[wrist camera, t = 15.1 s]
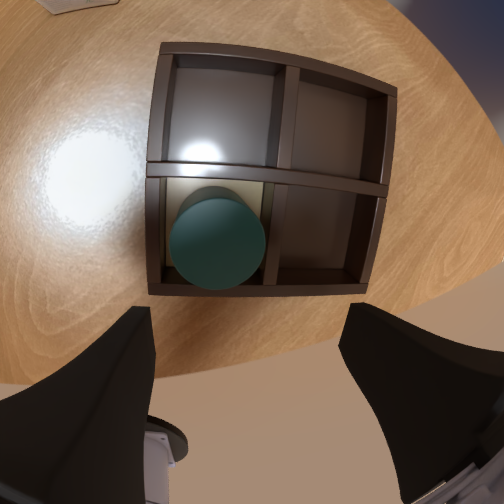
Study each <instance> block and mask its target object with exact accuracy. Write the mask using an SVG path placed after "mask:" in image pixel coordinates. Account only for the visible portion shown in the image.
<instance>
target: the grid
mask: <svg viewBox="0 0 504 504" xmlns="http://www.w3.org/2000/svg"><path fill="white" fill-rule="evenodd" d="M396 116H397V87H395V86H392V85H390V84H388V83H385V82H383V81H380V80H378V79H375V78H372V77H370V76H367V75H364V74H362V73H359V72H356V71H353V70H350V69H347V68H344V67H340V66H337V65H334V64H330V63H327V62H323V61H320V60H316V59H312V58H308V57H304V56H299V55H295V54H290V53H285V52H280V51H275V50H269V49H263V48H256V47H249V46H241V45H231V44H220V43H204V42H162V43H161V45H160V50H159V56H158V61H157V66H156V73H155V79H154V86H153V93H152V101H151V109H150V119H149V129H148V141H147V156H146V161H147V163H146V178H145V249H146V270H147V282H148V294H149V295H160V296H194V297H290V296H324V295H348V294H365V293H366V291H367V287H368V283H369V280H370V276H371V272H372V268H373V264H374V260H375V256H376V251H377V247H378V243H379V238H380V233H381V228H382V223H383V218H384V213H385V207H386V202H387V199H386V198H387V196H388V189H389V184H390V177H391V169H392V161H393V152H394V142H395V131H396ZM208 186H220V187H224V188H227V189H230V190H232V191H233V192H235V193H236V194H238V195H239V196H240V197H241V198H242V200H243V201H244V202H245V203H246V204H247V205H248V206H249V208H250V209H251V210H252V211H253V212H254V213H255V215H256V216H257V217H258V219H259V220H260V222H261V224H262V226H263V229H264V233H265V240H266V245H265V252H264V256H263V259H262V261H261V263H260V265H259V267H258V268H257V270H256V271H255V272H254V273H253V274H252V275H251V276H250V277H249V278H248V279H247V280H245V281H244V282H242V283H241V284H239V285H237V286H234V287H231V288H228V289H222V290H211V289H205V288H201V287H198V286H196V285H194V284H192V283H190V282H189V281H187V280H186V279H185V278H184V277H183V276H182V275H181V274H180V273H179V272H178V271H177V269H176V268H175V266H174V264H173V262H172V259H171V257H170V252H169V237H170V232H171V229H172V227H173V224H174V221H175V219H176V216H177V214H178V211H179V209H180V207H181V205H182V203H183V202H184V200H185V199H186V198H187V197H188V196H189V195H190V194H191V193H193V192H194V191H196V190H198V189H201V188H204V187H208Z"/></svg>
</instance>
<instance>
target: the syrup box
mask: <svg viewBox="0 0 504 504" xmlns="http://www.w3.org/2000/svg"><path fill="white" fill-rule="evenodd" d="M35 1H37V2H38V3H39V4H40V5H42V6H43V7H44V8H45V9H47V10H48V11H49V12H50V13H52V14H59V13H64V12H68V11H73V10H78V9H83V8H89V7H94V6H100V5H108V4H115V3H117V2H118V1H119V0H35Z"/></svg>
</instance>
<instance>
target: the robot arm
mask: <svg viewBox="0 0 504 504" xmlns="http://www.w3.org/2000/svg"><path fill="white" fill-rule="evenodd" d="M338 347H339V349H340V352H341V354H342V357H343V359H344V362H345V364H346V366H347V368H348V370H349V371H350V373H351V375H352V376H353V378H354V379H355V381H356V383H357V385H358V386H359V388H360V389H361V391H362V393H363V394H364V396H365V398H366V399H367V401H368V402H369V404H370V406H371V407H372V409H373V411H374V413H375V415H376V417H377V419H378V421H379V424H380V426H381V428H382V431H383V433H384V436H385V438H386V441H387V444H388V447H389V449H390V452H391V455H392V459H393V462H394V465H395V469H396V473H397V478H398V483H399V489H400V496H401V500H402V502H403V503H404V504H411V503H413V502H415V501H416V500H418V499H420V498H421V497H423V496H424V495H426V494H428V493H429V492H431V491H432V490H434V489H435V488H437V487H438V486H440V485H441V484H443V483H444V482H446V483H445V484H444V485H443V486H441V487H440V488H438V489H437V490H435V491H434V492H432V493H431V494H429V495H428V496H426V497H425V498H423V499H421V500H420V501H418V502H416V503H415V504H444V503H446V502H447V503H446V504H504V352H500V351H492V350H486V349H481V348H476V347H472V346H468V345H464V344H461V343H457V342H454V341H451V340H449V339H445V338H442V337H440V336H437V335H435V334H433V333H430V332H428V331H426V330H423V329H421V328H419V327H417V326H415V325H413V324H411V323H409V322H406V321H404V320H402V319H400V318H398V317H396V316H394V315H392V314H390V313H388V312H386V311H384V310H382V309H379V308H377V307H375V306H373V305H370V304H367V303H364V302H361V303H351V304H350V308H349V311H348V315H347V318H346V322H345V325H344V328H343V332H342V335H341V338H340V341H339V345H338ZM155 359H156V352H155V345H154V338H153V330H152V322H151V313H150V307H142V306H132V307H131V308H130V309H129V310H128V311H127V312H126V313H124V314H123V315H122V316H121V317H120V318H119V319H118V320H117V321H116V322H115V323H114V324H113V325H112V326H111V327H110V328H109V329H108V330H107V331H106V332H105V333H104V334H103V335H102V336H101V337H99V338H98V339H97V340H96V341H95V342H94V343H92V344H91V345H90V346H89V347H88V348H87V349H85V350H84V351H83V352H82V353H81V354H80V355H78V356H77V357H76V358H75V359H73V360H72V361H70V362H69V363H68V364H66V365H65V366H63V367H62V368H61V369H59V370H58V371H56V372H55V373H53V374H52V375H50V376H48V377H46V378H45V379H43V380H41V381H39V382H38V383H36V384H34V385H33V386H31V387H29V388H27V389H25V390H23V391H21V392H19V393H17V394H15V395H12V396H10V397H8V398H5V399H3V400H1V401H0V504H169V484H168V483H169V482H168V467H175V466H176V464H175V461H174V457H173V454H172V451H171V447H170V444H169V440H168V436H167V434H166V433H164V432H154V431H145V428H146V422H147V416H148V410H149V404H150V399H151V393H152V388H153V382H154V373H155Z"/></svg>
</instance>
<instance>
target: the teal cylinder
mask: <svg viewBox="0 0 504 504" xmlns="http://www.w3.org/2000/svg"><path fill="white" fill-rule="evenodd" d="M265 245H266V240H265V233H264V229H263V226H262V224H261V222H260V220H259V219H258V217H257V216H256V215H255V213H254V212H253V211H252V210H251V209H250V208H249V206H248V205H247V204H246V203H245V202H244V201H243V200H242V198H241V197H240V196H239V195H238V194H236V193H235V192H233V191H232V190H230V189H227V188H224V187H220V186H208V187H204V188H201V189H198V190H196V191H194V192H193V193H191V194H190V195H189V196H188V197H187V198H186V199H185V200H184V202H183V203H182V205H181V207H180V209H179V211H178V214H177V216H176V219H175V221H174V224H173V227H172V229H171V232H170V237H169V252H170V257H171V259H172V262H173V264H174V266H175V268H176V269H177V271H178V272H179V273H180V274H181V275H182V276H183V277H184V278H185V279H186V280H187V281H189V282H190V283H192V284H194V285H196V286H198V287H201V288H205V289H211V290H222V289H228V288H231V287H234V286H237V285H239V284H241V283H242V282H244V281H245V280H247V279H248V278H249V277H250V276H251V275H252V274H253V273H254V272H255V271H256V270H257V268H258V267H259V265H260V263H261V261H262V259H263V256H264V252H265Z"/></svg>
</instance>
